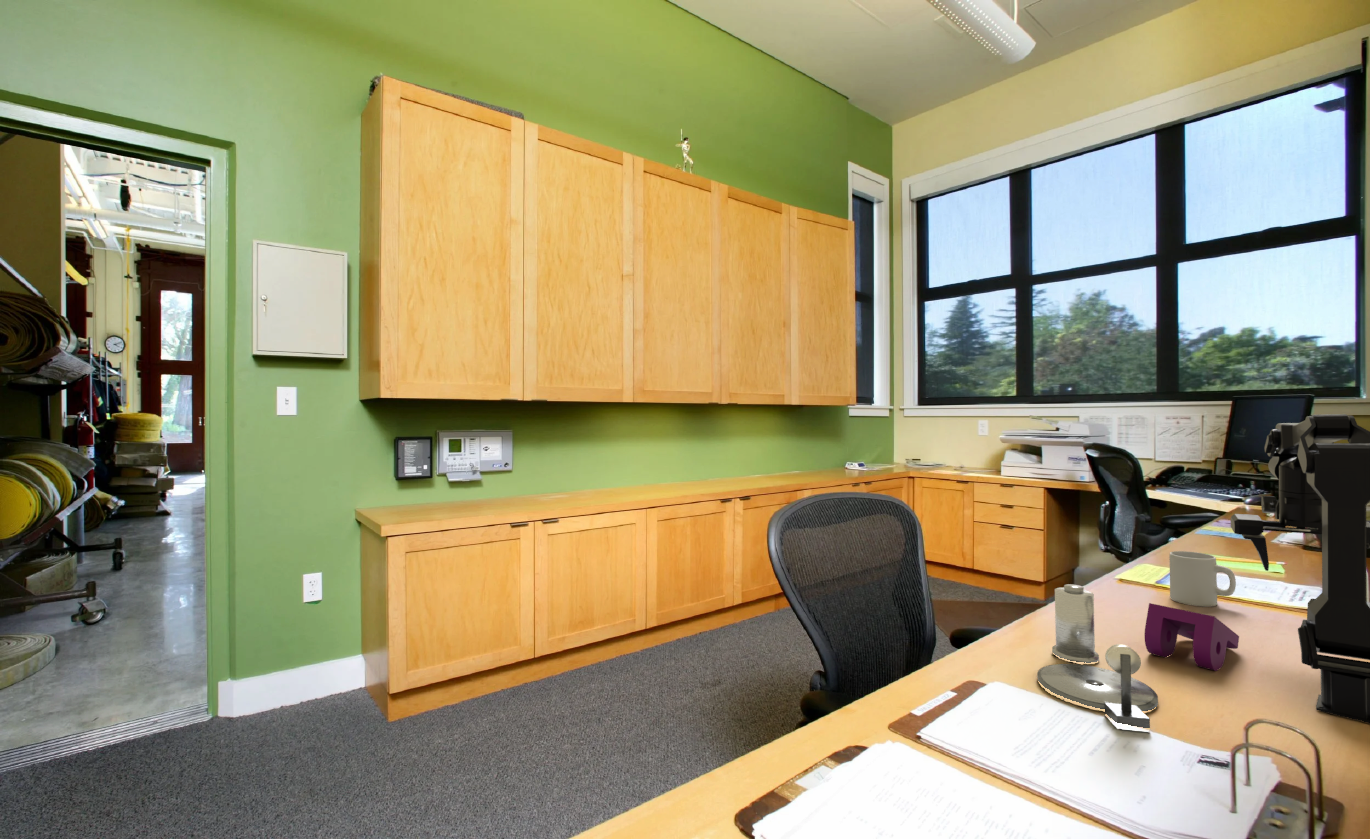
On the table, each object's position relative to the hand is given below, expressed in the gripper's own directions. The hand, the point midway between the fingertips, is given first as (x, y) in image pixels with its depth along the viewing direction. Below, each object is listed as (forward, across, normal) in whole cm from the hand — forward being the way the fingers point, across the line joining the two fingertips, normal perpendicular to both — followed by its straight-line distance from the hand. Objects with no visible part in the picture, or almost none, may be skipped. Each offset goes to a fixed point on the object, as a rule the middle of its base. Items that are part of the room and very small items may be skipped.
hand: (1300, 573), depth 110 cm
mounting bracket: (+14, +16, +13) cm, 25 cm away
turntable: (+10, +31, +41) cm, 53 cm away
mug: (+17, +12, -26) cm, 33 cm away
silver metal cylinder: (+12, +34, +27) cm, 45 cm away
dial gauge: (+9, +26, +52) cm, 59 cm away
